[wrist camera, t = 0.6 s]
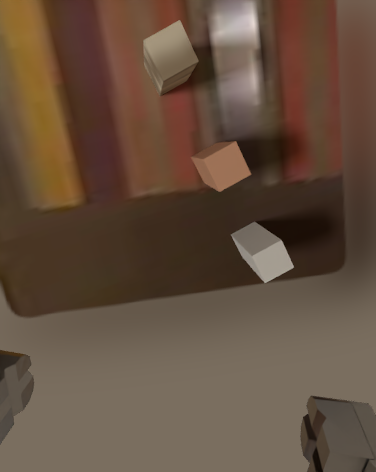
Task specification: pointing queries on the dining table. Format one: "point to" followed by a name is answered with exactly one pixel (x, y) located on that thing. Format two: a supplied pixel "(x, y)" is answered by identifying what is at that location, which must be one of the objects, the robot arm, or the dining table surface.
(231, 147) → the terracotta block
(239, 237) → the white block
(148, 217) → the dining table surface
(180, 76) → the birch block
